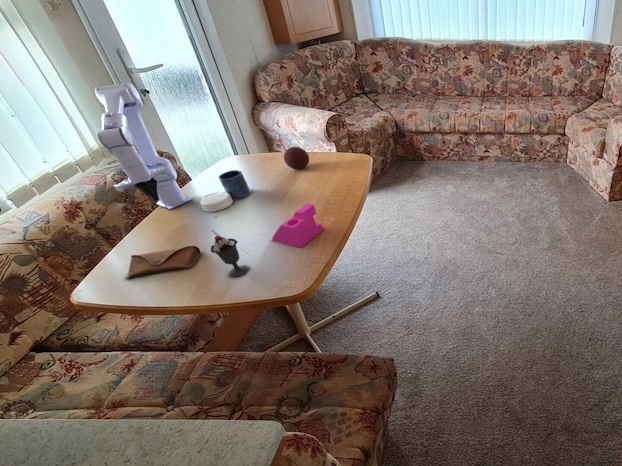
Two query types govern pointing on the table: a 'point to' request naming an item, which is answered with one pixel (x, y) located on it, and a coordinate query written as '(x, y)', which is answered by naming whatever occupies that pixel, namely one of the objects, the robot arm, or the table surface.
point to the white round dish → (216, 201)
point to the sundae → (228, 254)
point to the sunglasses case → (163, 261)
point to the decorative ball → (296, 158)
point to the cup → (235, 184)
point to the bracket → (299, 227)
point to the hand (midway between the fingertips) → (155, 200)
